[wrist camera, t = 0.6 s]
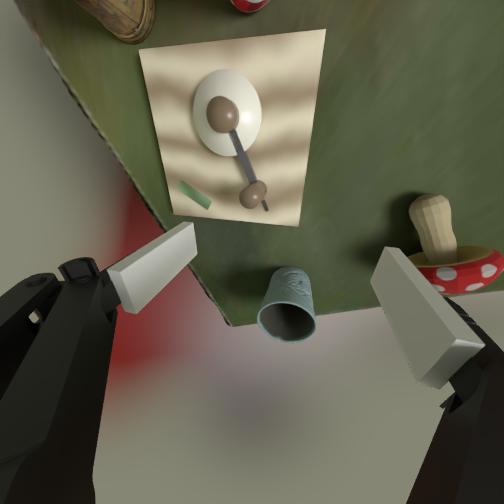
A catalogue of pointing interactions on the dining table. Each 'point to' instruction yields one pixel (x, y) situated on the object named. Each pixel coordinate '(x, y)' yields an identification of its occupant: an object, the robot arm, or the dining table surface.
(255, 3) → the soda can
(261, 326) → the blue cup
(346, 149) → the dining table surface
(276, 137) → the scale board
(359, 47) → the dining table surface
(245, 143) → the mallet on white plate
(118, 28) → the wooden mug
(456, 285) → the decorative mushroom
